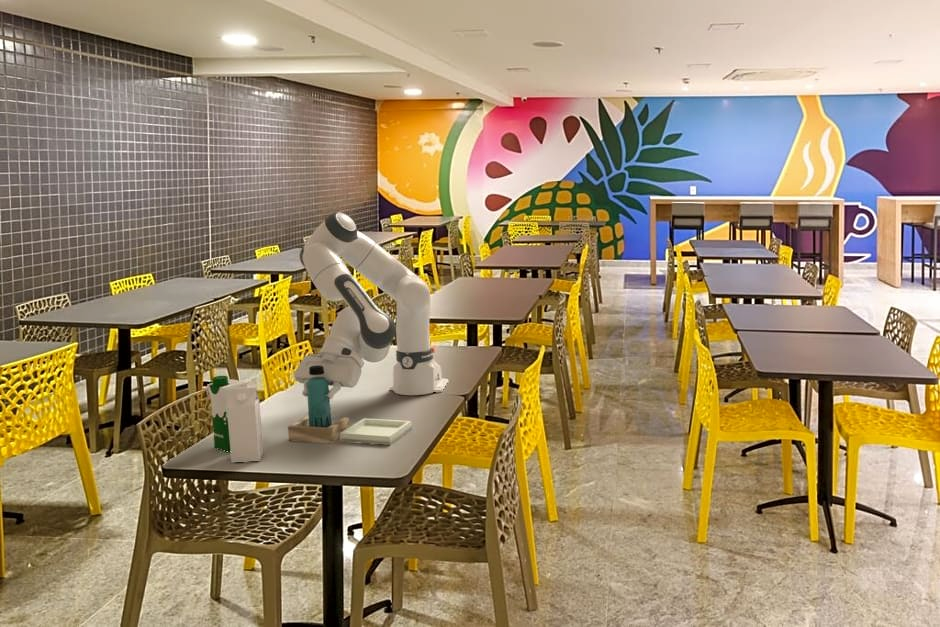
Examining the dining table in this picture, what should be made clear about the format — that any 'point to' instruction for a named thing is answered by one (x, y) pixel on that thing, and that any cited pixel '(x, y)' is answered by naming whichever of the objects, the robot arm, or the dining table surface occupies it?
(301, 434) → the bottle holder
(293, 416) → the dining table surface
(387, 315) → the robot arm
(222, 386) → the soya milk
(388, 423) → the tray
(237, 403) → the milk carton
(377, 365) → the dining table surface
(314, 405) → the beverage bottle
